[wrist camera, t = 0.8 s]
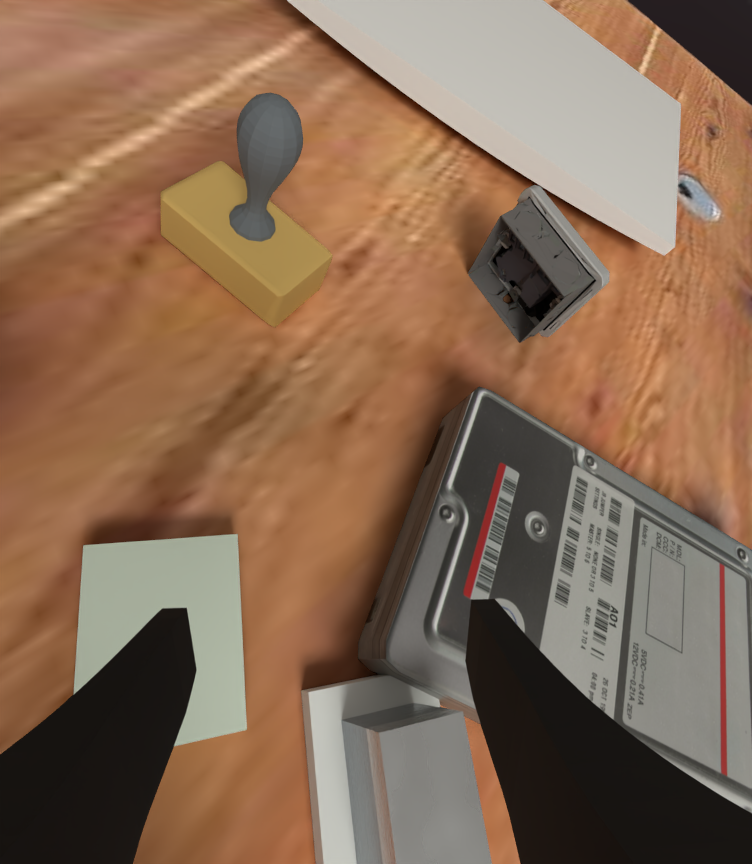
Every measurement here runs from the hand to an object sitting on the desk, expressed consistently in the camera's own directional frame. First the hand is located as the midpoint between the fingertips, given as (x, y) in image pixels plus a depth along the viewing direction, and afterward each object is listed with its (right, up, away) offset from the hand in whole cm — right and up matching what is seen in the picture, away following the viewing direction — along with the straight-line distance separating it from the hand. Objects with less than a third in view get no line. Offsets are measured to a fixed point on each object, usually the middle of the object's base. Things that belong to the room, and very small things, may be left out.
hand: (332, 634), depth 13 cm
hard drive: (+14, -7, +22) cm, 27 cm away
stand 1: (-9, -5, +12) cm, 16 cm away
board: (+15, +45, +46) cm, 66 cm away
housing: (+2, -12, +11) cm, 16 cm away
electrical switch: (+12, +16, +31) cm, 37 cm away
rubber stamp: (-8, +17, +22) cm, 29 cm away
